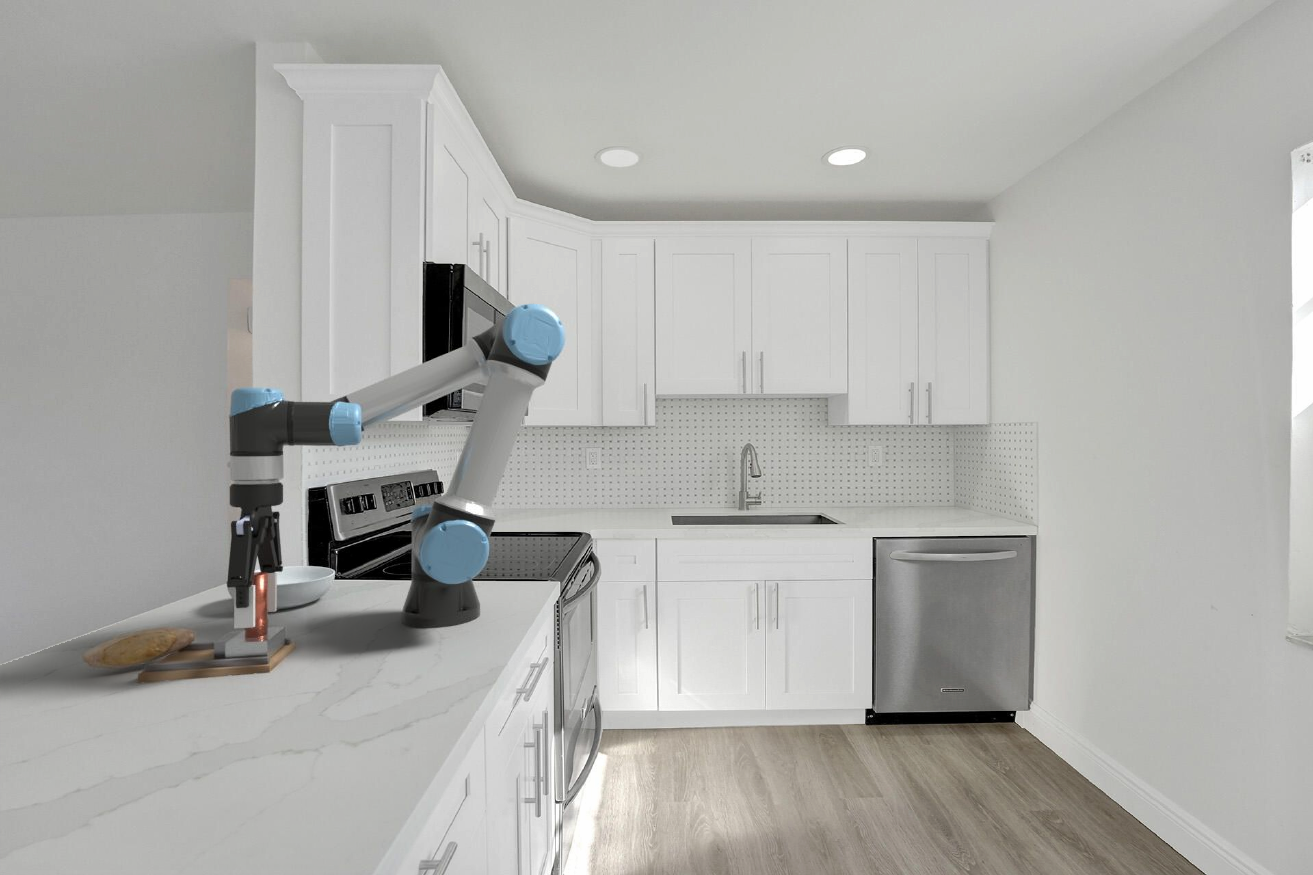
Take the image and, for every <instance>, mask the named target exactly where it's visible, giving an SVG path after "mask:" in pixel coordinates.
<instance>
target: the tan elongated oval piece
mask: <svg viewBox="0 0 1313 875" xmlns="http://www.w3.org/2000/svg"><path fill="white" fill-rule="evenodd" d="M196 634H197V632H196V630H193V629H189V628H181V627H170V626H169V627H166V626H165V627H156V628H150V629H149V628H147V629H143V630H138V631H134V632H129V633H126V634H121V635H118V636H116V637H114V638H111V639H108V640H107V641H104V642H102V643H100V644H98V645H95V646H94V647H92V648H90V649H88V650H86V651H84V652H82V655H81V658H82V662H84V663H85V664H86V665H87V666H89V667H91V668H95V669H96V668H97V669H99V668H100V669H116V668H117V669H118V668H119V669H121V668H128V667H129V668H130V667H133V666H140V665H143V664H148V663H151V662H153V661H156V660H158V659H161V658H164V657H166V656H168V655H170V654H171V653H173V652H175V651H177V650H180V649H182V648H184V647H186V646H187V645H189V644H191V643H194V642H195V640H196Z"/></svg>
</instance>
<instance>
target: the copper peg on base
mask: <svg viewBox="0 0 1313 875" xmlns="http://www.w3.org/2000/svg"><path fill="white" fill-rule="evenodd" d="M252 585H255V627H251V628H244V630H231V631H228V632H227V633H226V634H224V635H223V636H222V637H220V638H218V639H217V640H216V641H213V642H214V660H218V659H234V658H250V657H267V656H270V657H271V656H272V655H273V654H274V653H276V652H277V651H278V650H279V649H280V648H281V647H282V646H283V645H285V638H286V626H273V627H269V622H268V621H269V612H268V573H267V572H255V573H254V577H253V583H252Z"/></svg>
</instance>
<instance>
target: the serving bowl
mask: <svg viewBox="0 0 1313 875" xmlns="http://www.w3.org/2000/svg"><path fill="white" fill-rule="evenodd" d="M255 572H261V571H260V569H255ZM255 572H254V573H255ZM275 573H277V610H284V609H285V610H286V609H289V608H290V609H291V608H295V607H300V606H302V605H307V604H309V603H312V602H314V601H316V600H318V599H320V598H322V597H323V596H324V595H325V594H327V593H328V592H329V591H330V589H331V588H332V586H333V584H334V581H335V577H336V576H335V575H336V571H335V569H332V568H329V567H323V566H313V565H307V566H306V565H302V566H301V565H300V566H298V565H297V566H296V565H295V566H293V565H292V566H291V565H290V566H283V571H282V572H275ZM227 580H228V578H227V579H226V580H225V584H227ZM226 587H227V586H226ZM227 591H228V593H229V595H230V597H231V598H232V600H234V587H227Z"/></svg>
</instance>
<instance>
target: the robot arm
mask: <svg viewBox="0 0 1313 875" xmlns="http://www.w3.org/2000/svg"><path fill="white" fill-rule="evenodd" d="M565 331H566V330H565V328H564V326H563V322H562V321H561V320H560V318H559V316H558V315H557V314H556V313H555V312H554V311H553V310H551V309H550V308H548V307H546V306H545V305H541V304H538V303H526V304H521V305H518V306H516V307H514V308H512V309H511V310H509V312H508V313H507V314H506V315H504V317H502V318H501V319H500V320H498V322H496V323H495V324H494V325H492V326H490V328H488V329H486V330H485V331H483V332H481V333H480V334H478V335H475V336H472V337H470V338H468V340H467V343H466V345H464V346H462V347H459V348H457V349H455V350H452V351H449V352H448V353H445V354H442V355H439V356H437V357H435V358H432V359H431V360H428V361H425V362H423V363H420V364H418V365H415V366H413V367H411V368H408V369H406V370H403V371H402V372H399V373H397V374H394V375H392V376H390V377H389V376H388V377H387V378H384V379H383V380H380V381H378V382H375V383H372V384H370V385H367V386H366V387H363V388H361V389H358V390H355V391H353V392H352V393H349V394H346V395H344V396H341V397H339V398H336V399H333V400H332V401H293V400H285V397H284V392H283V391H282V390H281V389H279V388H278V389H277V388H270V387H269V388H265V387H238V388H236V389H234V390H233V391H232V392H231V396H230V410H229V415H228V418H229V461H228V462H227V464H226V466H227V467H228V468H229V480H230V481H232V482H233V483H232V484H230V486H229V506H231V507H232V508H240V509H241V511H240V517H239V519H238V520H232V521H231V522H230V532H231V533H230V535H231V539H230V546H229V550H230V551H229V559H228V571H227V579H228V580H227V579H226V580H227V583H226V587H234V599H233V600H234V601H233V607H234V608H233V609H234V610H233V612H234V613H233V619H234V620H233V621H234V623H233V627H234V628H233V629H245V628H251V627H255V585H252V583H253V577H254V572H255V570H256V567H257V566H256V564H257V561H258V564H259V570H260V571H261V572H267V573H268V613H273V612H277V610H278V609H277V573H275V572H282V571H283V567H284V565H283V560H282V548H281V546H282V545H281V534H280V533H281V532H280V512H279V511H273V509H272V507H276V506H280V505H282V504H283V503H284V484H283V482H280V480H282V479H284V446H289V447H290V446H291V447H293V446H306V447H307V446H313V447H314V446H315V447H317V446H319V447H322V446H324V447H325V446H326V447H327V446H329V447H330V446H333V447H336V446H337V447H345V446H357V445H359V444H360V443H361V441H362V433H363V432H364V431H366V430H369V429H371V428H374V427H376V426H378V425H381V424H382V423H384V422H387V421H389V420H392V419H394V418H396V417H399V416H401V415H403V414H405V413H408V412H410V411H412V410H415V409H417V408H419V407H421V406H422V407H423V406H424V405H426V404H428V403H431V402H433V401H435V400H438V399H439V398H442V397H444V396H447V395H449V394H451V393H452V394H453V392H456V391H459V390H460V389H463V388H465V387H467V386H469V385H472V384H474V383H477V382H480V381H481V380H484V381H487V383H486V385H485V387H484V391H483V394H482V397H481V399H480V402H479V405H478V408H477V410H476V413H475V416H474V419H473V421H472V423H471V426H470V429H469V432H468V435H467V437H466V441H465V443H464V445H463V448H462V451H461V453H460V456H459V458H458V461H457V464H456V466H455V468H454V469H455V470H454V471H453V474H452V477H451V480H450V483H449V485H448V489H447V490H446V493H445V494H442V495H440V496H439V497H437V498H435V499H434V501H433V504H432V505H426V506H425V505H423V506H417V507H414V509H413V510H412V513H411V520H410V525H411V581H410V585H409V589H408V592H407V595H406V597H405V601H404V604H403V607H402V611H401V621H402V622H401V623H403V625H405V626H408V627H411V628H412V627H413V628H418V629H440V628H448V627H455V626H460V625H463V624H467V623H470V622H473V621H475V620H477V619H478V618H479V617H480V616H481V603H480V600H479V596H478V594H477V591H476V588H475V585H474V581H473V578H475V577H476V576H477V575H479V574H480V573H481V571H482V570H483V569H484V568H485V566H486V564H487V562H488V559H489V555H490V542H489V539H490V536H491V534H492V532H493V528H494V526H495V523H496V520H497V517H496V515H495V514H494V511H493V508H492V507H493V504H494V502H495V498H496V495H497V492H498V490H499V488H500V484H501V481H502V478H503V476H504V473H505V470H506V468H507V465H508V463H509V460H510V456H511V455H512V451H513V449H514V445H515V443H516V440H517V437H518V435H519V432H520V429H521V426H522V423H523V421H524V418H525V415H526V412H527V410H528V406H529V404H530V401H531V399H532V396H533V394H534V391H535V390H536V389H538V388H540V387H541V386H543V385H545V383H546V381H547V378H548V374H549V372H550V370H551V367H552V364H553V362H554V361H555V360H556V359H557V358H558V357H559V356H560V354H561V352H562V351H563V348H564V347H565V342H566V332H565Z"/></svg>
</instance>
